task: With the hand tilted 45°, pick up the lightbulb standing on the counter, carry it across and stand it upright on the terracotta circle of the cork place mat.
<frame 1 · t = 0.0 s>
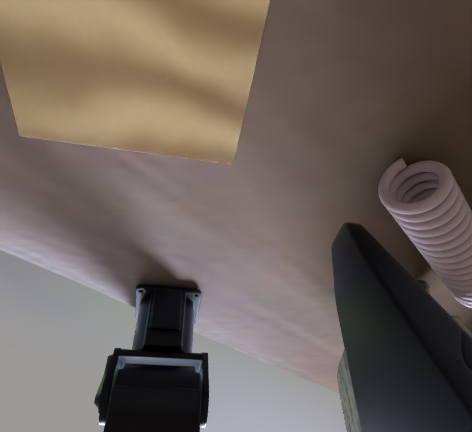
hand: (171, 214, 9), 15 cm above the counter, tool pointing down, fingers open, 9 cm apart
coil: (438, 220, 32), on the counter
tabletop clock: (375, 306, 41), on the counter
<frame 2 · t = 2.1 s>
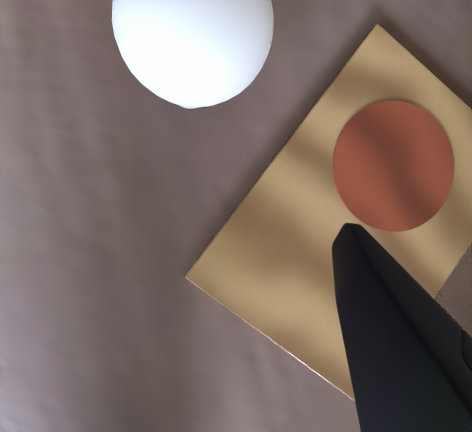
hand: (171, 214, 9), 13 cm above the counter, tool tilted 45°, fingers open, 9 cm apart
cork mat: (365, 214, 24), on the counter
lightbulb: (189, 92, 22), on the counter
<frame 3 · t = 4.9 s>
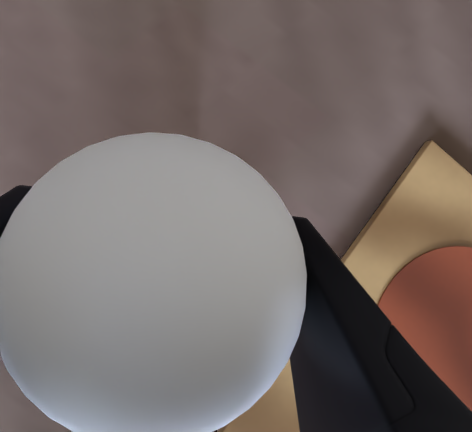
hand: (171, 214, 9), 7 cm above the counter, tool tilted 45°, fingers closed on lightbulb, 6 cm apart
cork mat: (413, 398, 17), on the counter
lightbulb: (171, 245, 16), on the counter, touching gripper
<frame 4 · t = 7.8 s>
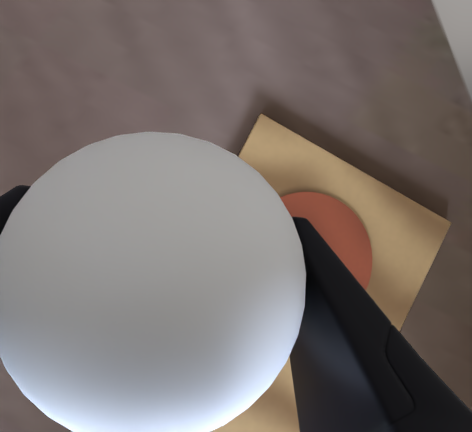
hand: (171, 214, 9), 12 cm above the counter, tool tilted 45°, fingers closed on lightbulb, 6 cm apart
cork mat: (284, 316, 22), on the counter
lightbulb: (170, 244, 16), point 5 cm above the counter, touching gripper
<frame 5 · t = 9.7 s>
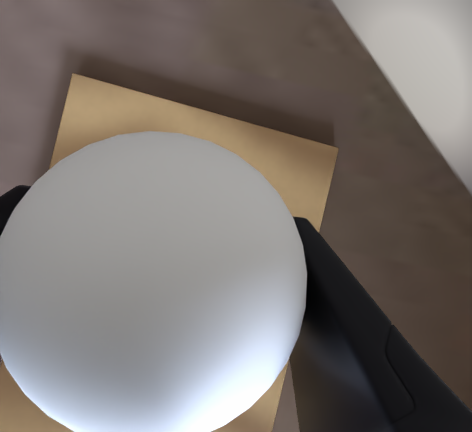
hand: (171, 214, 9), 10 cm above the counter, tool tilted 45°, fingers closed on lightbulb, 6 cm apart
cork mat: (167, 300, 19), on the counter
lightbulb: (171, 244, 16), point 3 cm above the counter, touching gripper
when the fingers open (7 cm above the counter, at t = 11.0 s): lightbulb stays where it is, resting on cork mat.
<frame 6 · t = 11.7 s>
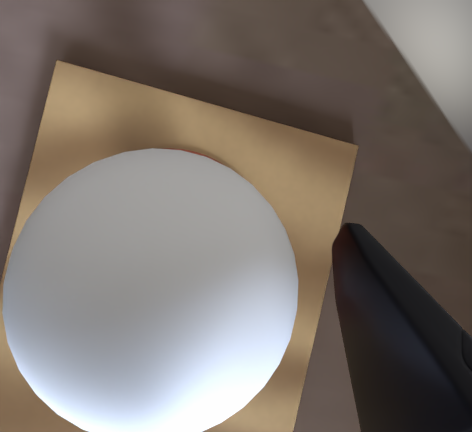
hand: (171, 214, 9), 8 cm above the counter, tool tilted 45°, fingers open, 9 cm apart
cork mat: (165, 319, 17), on the counter
lightbulb: (170, 249, 16), resting on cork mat
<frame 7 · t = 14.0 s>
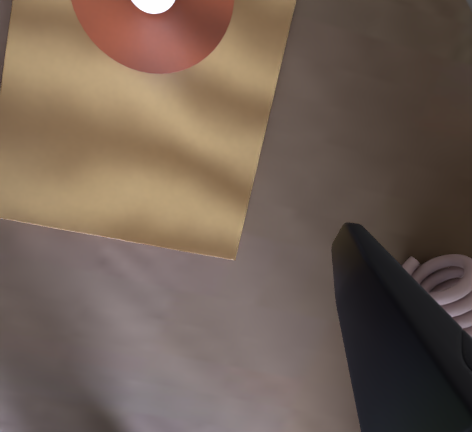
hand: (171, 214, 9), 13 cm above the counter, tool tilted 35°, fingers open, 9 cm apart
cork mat: (151, 62, 20), on the counter
coil: (464, 346, 27), on the counter
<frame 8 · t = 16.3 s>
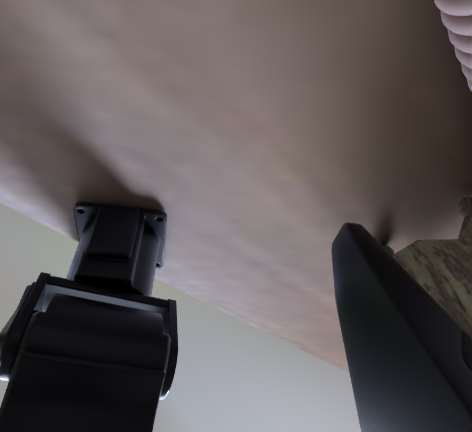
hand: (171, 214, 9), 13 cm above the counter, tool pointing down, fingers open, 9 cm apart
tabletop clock: (403, 244, 31), on the counter
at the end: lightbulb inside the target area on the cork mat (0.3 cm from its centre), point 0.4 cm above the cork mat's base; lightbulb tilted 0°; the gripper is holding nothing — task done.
